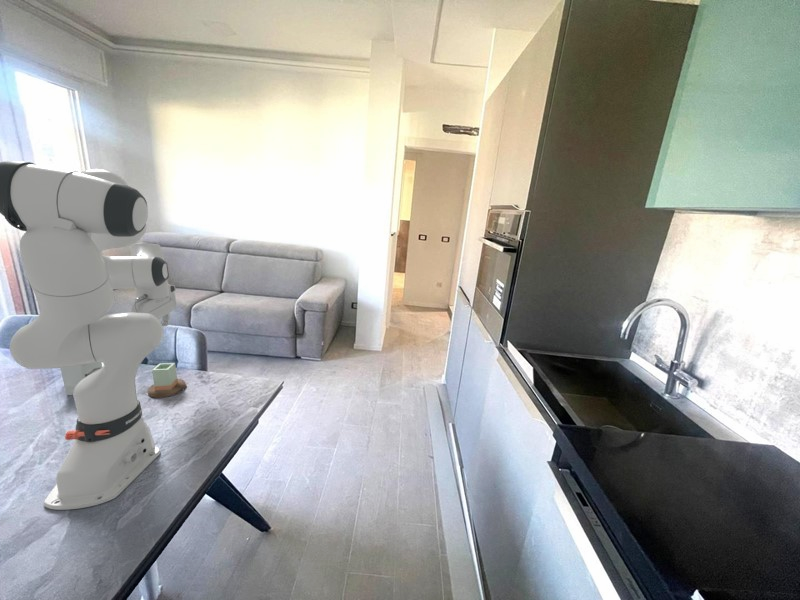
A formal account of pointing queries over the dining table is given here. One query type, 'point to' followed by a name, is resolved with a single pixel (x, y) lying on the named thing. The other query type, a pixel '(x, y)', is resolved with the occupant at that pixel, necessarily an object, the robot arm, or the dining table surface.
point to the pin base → (167, 393)
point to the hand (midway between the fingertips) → (158, 330)
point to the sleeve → (164, 376)
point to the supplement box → (77, 374)
